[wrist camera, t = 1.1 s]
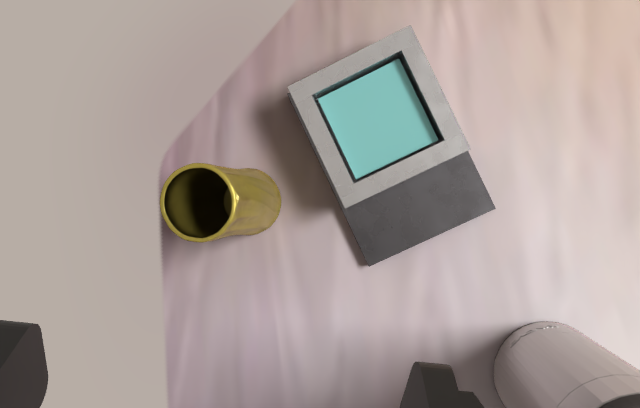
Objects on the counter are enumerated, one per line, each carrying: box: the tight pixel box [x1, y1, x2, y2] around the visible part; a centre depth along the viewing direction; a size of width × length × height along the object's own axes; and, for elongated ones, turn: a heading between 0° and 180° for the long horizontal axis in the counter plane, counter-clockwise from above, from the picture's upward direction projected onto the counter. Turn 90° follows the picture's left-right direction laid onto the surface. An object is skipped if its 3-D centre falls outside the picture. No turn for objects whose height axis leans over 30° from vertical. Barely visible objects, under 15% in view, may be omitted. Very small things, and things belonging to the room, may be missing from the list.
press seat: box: [318, 59, 438, 180], centre depth 44 cm, size 7×7×1 cm
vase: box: [160, 163, 281, 242], centre depth 42 cm, size 6×6×14 cm
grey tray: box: [288, 25, 496, 266], centre depth 45 cm, size 17×12×5 cm
